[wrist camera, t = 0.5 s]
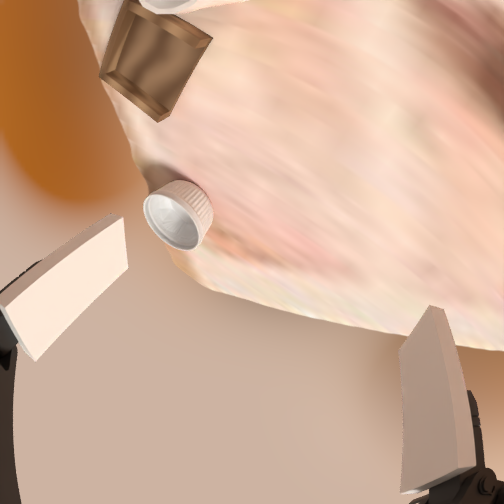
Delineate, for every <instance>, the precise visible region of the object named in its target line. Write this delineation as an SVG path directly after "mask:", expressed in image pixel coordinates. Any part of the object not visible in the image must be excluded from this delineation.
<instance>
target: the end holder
mask: <svg viewBox="0 0 504 504" xmlns="http://www.w3.org/2000/svg"><path fill="white" fill-rule="evenodd" d="M212 39H213V37H211V36H209V35H208V34H206V33H205V32H203V31H201V30H200V29H198V28H196V27H195V26H193V25H191V24H190V23H188V22H186V21H185V20H183V19H181V18H179V17H177V16H176V15H174V14H155V13H153V12H152V11H150V10H148V9H146V8H144V7H143V6H142V5H141V3H140V1H139V0H124V2H123V5H122V7H121V10H120V12H119V15H118V17H117V20H116V23H115V25H114V28H113V31H112V34H111V37H110V40H109V43H108V46H107V49H106V52H105V55H104V59H103V62H102V66H101V70H100V73H99V77H100V78H101V79H102V80H104V81H105V82H106V83H108V84H109V85H110V86H112V87H113V88H114V89H115V90H117V91H118V92H119V93H121V94H122V95H123V96H124V97H126V98H127V99H128V100H130V101H131V102H132V103H133V104H135V105H136V106H137V107H138V108H140V109H141V110H142V111H143V112H145V113H146V114H147V115H149V116H150V117H151V118H152V119H153V120H155V121H156V122H157V123H158V122H160V121H162V120H164V119H165V118H167V117H169V116H170V114H171V112H172V110H173V108H174V106H175V104H176V102H177V100H178V98H179V96H180V94H181V92H182V90H183V88H184V87H185V85H186V83H187V81H188V79H189V77H190V76H191V74H192V72H193V70H194V69H195V67H196V65H197V63H198V62H199V60H200V58H201V57H202V55H203V53H204V52H205V50H206V48H207V47H208V45H209V44H210V42H211V40H212Z"/></svg>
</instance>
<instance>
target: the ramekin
mask: <svg viewBox="0 0 504 504" xmlns="http://www.w3.org/2000/svg"><path fill="white" fill-rule="evenodd" d="M143 210H144V215H145V217H146V220H147V222H148V224H149V225H150V227H151V228H152V230H153V231H154V232H155V233H156V235H157V236H158V237H160V238H161V239H162V240H163V241H164V242H166V243H167V244H168V245H170V246H172V247H174V248H176V249H179V250H183V251H191V250H194V249H195V248H197V247H198V246H199V244H200V243H201V242H202V240H203V237H204V235H205V234H206V232H207V230H208V229H209V227H210V225H211V223H212V220H213V207H212V204H211V201H210V199H209V198H208V196H207V195H206V194H205V192H204V191H203V190H202V189H201V188H199V187H198V186H197V185H195V184H193V183H191V182H188V181H184V180H175V181H172V182H170V183H168V184H166V185H164V186H163V187H161V188H160V189H158V190H156V191H153V192H152V193H150V194H149V195H148V196H147V197H146V199H145V201H144V204H143Z"/></svg>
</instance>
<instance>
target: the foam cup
mask: <svg viewBox="0 0 504 504" xmlns="http://www.w3.org/2000/svg"><path fill="white" fill-rule="evenodd" d="M139 1H140V3H141V5H142V6H143V7H144V8H146V9H148V10H150V11H152V12H153V13H155V14H180V13H191V12H193V11H195V10H198V9H202V8H208V7H213V6H219V5H226V4H233V3H239V2H244V1H247V0H139Z"/></svg>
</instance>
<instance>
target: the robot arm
mask: <svg viewBox="0 0 504 504" xmlns="http://www.w3.org/2000/svg"><path fill="white" fill-rule="evenodd" d="M127 268H128V262H127V254H126V244H125V235H124V222H123V217H122V216H118V215H115V214H111V213H110V214H109V215H107V216H106V217H104V218H103V219H101V220H99V221H98V222H96V223H95V224H93V225H92V226H90V227H89V228H87V229H86V230H84V231H82V232H81V233H80V234H78V235H77V236H75V237H74V238H72V239H71V240H70V241H68V242H66V243H65V244H64V245H62V246H61V247H59V248H58V249H57V250H55V251H54V252H53V253H51V254H50V255H48V256H47V257H46V258H44V259H43V260H40V261H38V262H36V263H34V264H33V265H32V266H30V267H29V268H28V269H27V270H26V272H23V273H22V274H20V275H19V277H17V278H15V279H14V280H13V281H11V282H10V283H9V284H8V285H7V286H6V287H4V288H3V289H2V290H1V291H0V504H21V499H20V494H19V488H18V482H17V476H16V468H15V458H14V445H13V393H14V379H15V369H16V361H17V353H18V352H17V347H16V344H17V343H18V342H19V344H20V345H21V347H22V348H23V350H24V352H25V353H26V354H27V355H29V356H30V357H31V358H32V359H33V360H34V361H37V360H38V358H39V357H40V356H41V355H42V354H43V353H44V352H45V351H46V349H47V348H48V347H49V346H50V345H51V344H52V343H53V342H54V341H55V340H56V339H57V338H58V337H59V336H60V334H61V333H62V332H63V331H64V330H65V329H66V328H67V327H68V326H69V325H70V324H71V323H72V322H73V321H74V320H75V319H76V318H77V317H78V316H79V315H80V314H81V313H82V312H83V311H84V310H85V309H86V308H87V307H88V306H89V305H90V304H91V303H92V302H93V301H94V300H95V299H96V298H97V297H98V296H99V295H100V294H101V293H102V292H103V291H104V290H105V289H106V288H107V287H108V286H109V285H111V283H112V282H114V281H115V280H116V279H117V278H118V277H119V276H120V275H121V274H122V273H123V272H124V271H125V270H127ZM398 352H399V362H400V372H401V387H402V406H403V455H402V474H401V486H400V494H412V493H419V492H422V491H424V490H427V489H429V494H427V495H425V496H422V497H419V498H417V499H414V500H413V501H411V502H410V503H409V504H416V503H419V504H504V482H503V481H499V480H497V479H496V475H495V473H494V472H493V470H491V469H490V468H485V462H484V450H483V440H482V432H481V428H480V419H479V418H478V416H479V413H478V407H477V402H476V400H475V398H474V396H473V394H472V392H471V391H470V390H466V386H465V381H464V377H463V372H462V369H461V364H460V361H459V357H458V353H457V349H456V346H455V342H454V339H453V336H452V333H451V329H450V326H449V323H448V320H447V317H446V314H445V311H444V309H441V308H438V307H434V306H431V305H429V307H428V308H427V310H426V311H425V313H424V314H423V316H422V318H421V319H420V321H419V322H418V324H417V325H416V327H415V328H414V329H413V331H412V332H411V334H410V335H409V337H408V338H407V339H406V341H405V342H404V344H403V345H402V346H401V348H400V349H399V351H398Z"/></svg>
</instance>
